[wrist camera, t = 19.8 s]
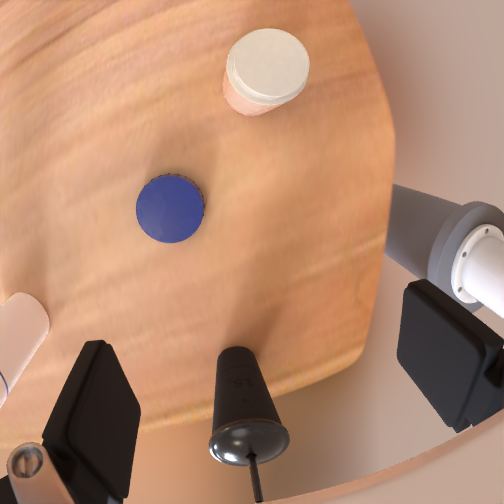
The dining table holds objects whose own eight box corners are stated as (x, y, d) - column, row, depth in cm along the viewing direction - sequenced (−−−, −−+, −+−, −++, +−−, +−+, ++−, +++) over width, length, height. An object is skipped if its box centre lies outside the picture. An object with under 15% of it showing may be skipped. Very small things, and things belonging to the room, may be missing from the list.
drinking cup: (271, 375, 40) (308, 506, 21) (215, 388, 40) (226, 521, 21) (260, 330, 37) (301, 472, 19) (198, 344, 37) (199, 490, 18)
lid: (151, 164, 30) (147, 166, 28) (213, 186, 31) (213, 188, 29) (132, 226, 31) (127, 231, 30) (191, 246, 33) (190, 252, 31)
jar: (291, 73, 28) (327, 45, 18) (269, 124, 30) (297, 116, 20) (235, 51, 27) (248, 11, 17) (212, 103, 28) (213, 82, 19)
